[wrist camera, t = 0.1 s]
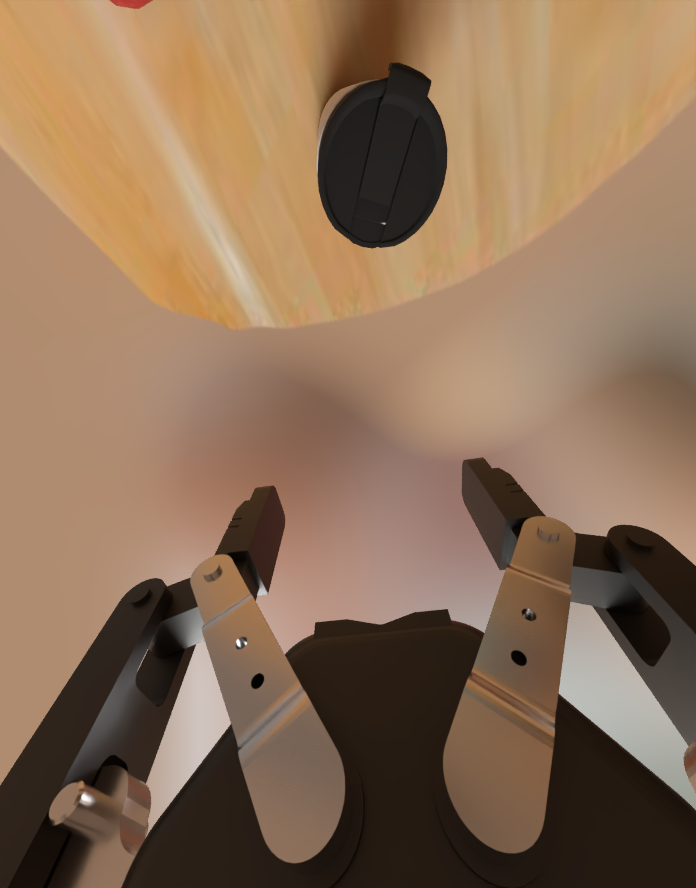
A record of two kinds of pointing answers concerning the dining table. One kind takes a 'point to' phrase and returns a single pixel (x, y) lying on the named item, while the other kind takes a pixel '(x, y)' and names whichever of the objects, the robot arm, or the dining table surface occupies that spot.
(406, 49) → the dining table surface
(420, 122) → the travel mug
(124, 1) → the onion
